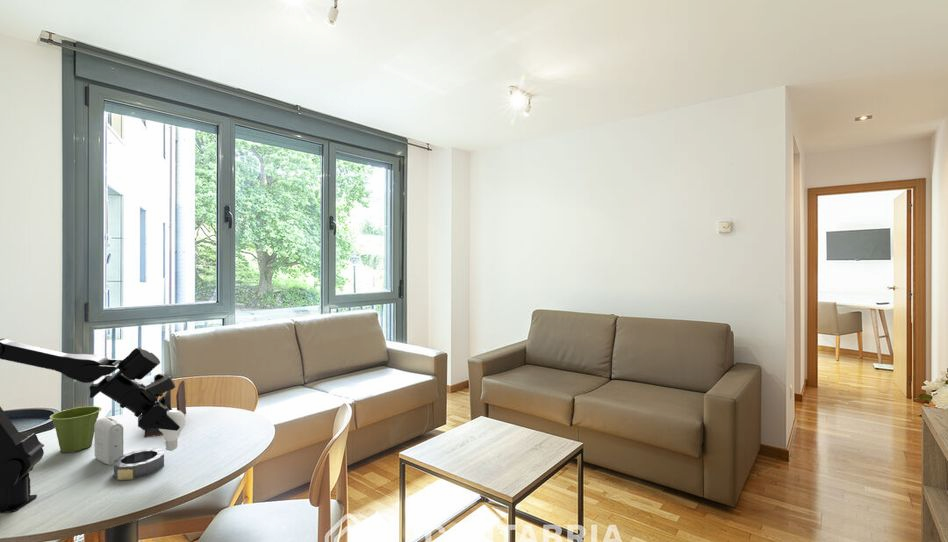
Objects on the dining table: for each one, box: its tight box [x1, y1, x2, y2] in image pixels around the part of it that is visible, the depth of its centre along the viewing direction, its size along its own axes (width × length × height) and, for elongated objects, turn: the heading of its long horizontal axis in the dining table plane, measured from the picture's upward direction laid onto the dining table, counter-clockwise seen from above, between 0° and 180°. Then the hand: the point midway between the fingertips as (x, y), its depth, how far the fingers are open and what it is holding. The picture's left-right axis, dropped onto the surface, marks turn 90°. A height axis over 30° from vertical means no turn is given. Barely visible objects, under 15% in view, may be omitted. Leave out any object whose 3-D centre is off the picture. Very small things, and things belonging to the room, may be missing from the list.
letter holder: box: [144, 380, 187, 438], centre depth 154 cm, size 10×20×14 cm, turn 29°
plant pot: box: [49, 405, 102, 453], centre depth 135 cm, size 12×12×11 cm
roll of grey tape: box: [113, 448, 165, 481], centre depth 121 cm, size 12×11×4 cm
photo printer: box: [93, 416, 124, 466], centre depth 127 cm, size 10×4×12 cm, turn 60°
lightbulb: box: [159, 409, 187, 452], centre depth 119 cm, size 6×6×11 cm
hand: (177, 425), depth 120 cm, fingers closed on lightbulb, 6 cm apart
